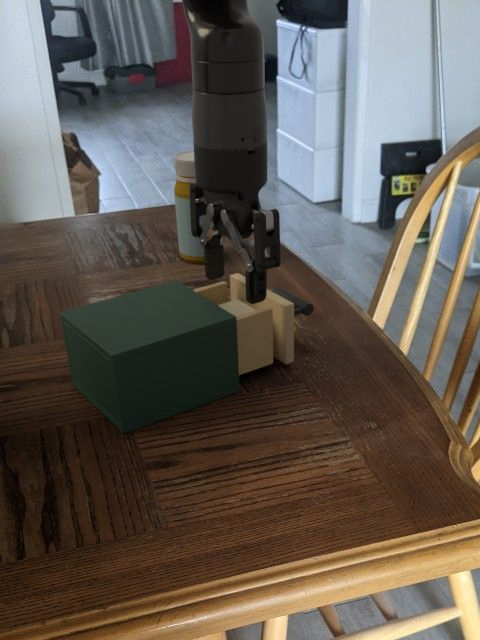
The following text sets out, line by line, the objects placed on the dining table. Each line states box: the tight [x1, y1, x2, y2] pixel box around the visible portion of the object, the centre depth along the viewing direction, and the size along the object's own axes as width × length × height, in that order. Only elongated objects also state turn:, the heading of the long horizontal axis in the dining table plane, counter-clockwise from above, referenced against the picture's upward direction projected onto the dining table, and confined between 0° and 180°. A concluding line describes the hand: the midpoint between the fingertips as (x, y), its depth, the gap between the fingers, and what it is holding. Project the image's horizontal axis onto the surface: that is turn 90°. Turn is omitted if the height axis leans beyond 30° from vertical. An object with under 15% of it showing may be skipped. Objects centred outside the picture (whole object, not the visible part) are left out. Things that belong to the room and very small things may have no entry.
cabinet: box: [59, 279, 241, 435], centre depth 86 cm, size 15×13×9 cm
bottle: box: [173, 149, 225, 265], centre depth 117 cm, size 7×7×15 cm
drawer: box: [192, 272, 315, 376], centre depth 91 cm, size 18×11×7 cm, turn 126°
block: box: [218, 299, 256, 317], centre depth 91 cm, size 5×5×5 cm
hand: (235, 289), depth 89 cm, fingers open, 8 cm apart
